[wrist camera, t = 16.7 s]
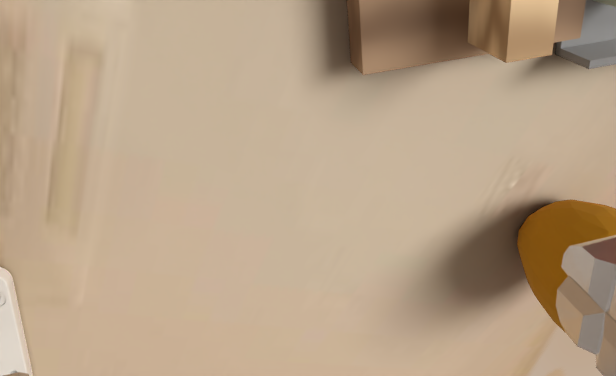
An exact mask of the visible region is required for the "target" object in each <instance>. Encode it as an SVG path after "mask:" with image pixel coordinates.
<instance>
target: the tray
mask: <svg viewBox="0 0 616 376" xmlns="http://www.w3.org/2000/svg"><path fill="white" fill-rule="evenodd" d="M555 54H556V55H558V56H560V57H563V58H565V59H567V60H570V61H572V62H574V63H576V64H579V65H581V66H583V67H586V68H588V69H591V68H597V67H602V66H608V65H614V64H616V7H614V6H610V5H607V4H603V3H599V2H596V1H593V0H586V4H585V10H584V17H583V23H582V30H581V36H580V38H578V39H572V40H566V41H561V42H557V44H556V51H555Z"/></svg>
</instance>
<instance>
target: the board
mask: <svg viewBox="0 0 616 376" xmlns="http://www.w3.org/2000/svg"><path fill="white" fill-rule="evenodd" d="M469 3H470V0H347V10H348V26H349V42H350V58H351V63H352V64H353V65H354V66H355V67H356V68H357V69H358V70H359V71H360V72H361V73H362V74H363V75H366V74H372V73H378V72H384V71H390V70H395V69H401V68H407V67H413V66H419V65H425V64H431V63H437V62H443V61H449V60H454V59H460V58H466V57H472V56H478V55H484V54H489V53H487V52H485V51H483V50H481V49H479V48H477V47H475V46H474V45H472V44H470V43H468V25H469ZM585 4H586V0H559V3H558V11H557V19H556V27H555V35H554V43H555V42H561V41H566V40H572V39H578V38H580V36H581V30H582V23H583V17H584V10H585Z"/></svg>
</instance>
